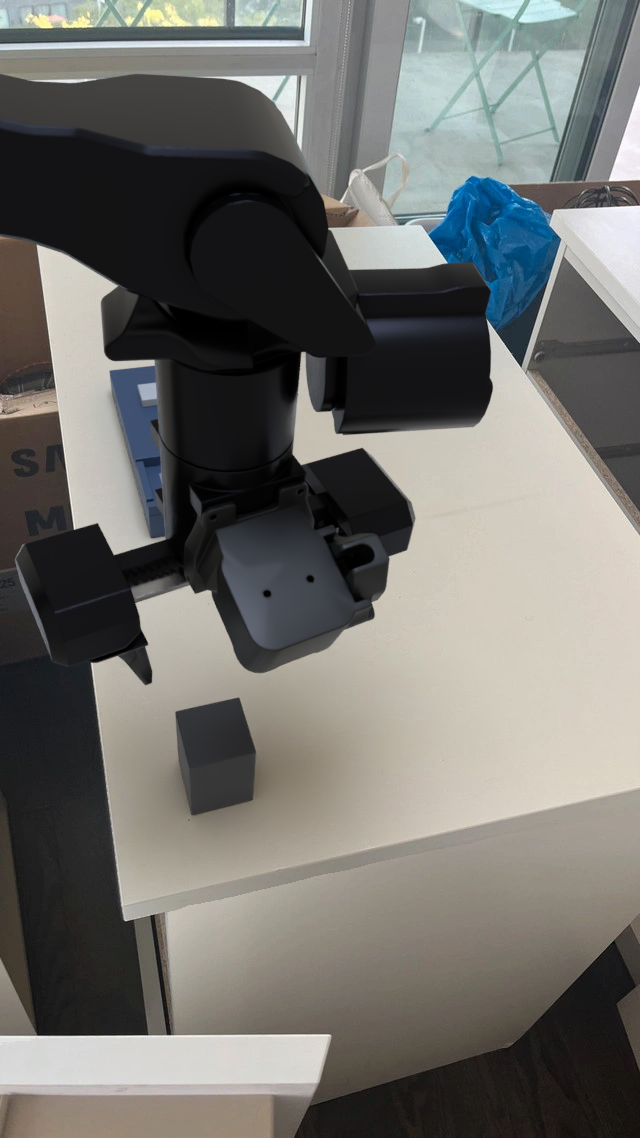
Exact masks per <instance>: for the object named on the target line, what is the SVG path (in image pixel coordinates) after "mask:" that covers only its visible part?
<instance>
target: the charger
mask: <svg viewBox="0 0 640 1138" xmlns="http://www.w3.org/2000/svg"><path fill="white" fill-rule="evenodd" d="M174 714H175V729H176V744H177V760H178V765H179V769H180V774H181V778H182V782H183V785H184V790H185V794H186V799H187V802H188V806H189V811H190V814H191V816H196V815H198V814H202V813H206V812H210V811H215V810H219V809H222V808H226V807H229V806H234V805H237V804H241V803H245V802H250V801H253V800H254V791H255V789H254V788H255V775H256V760H257V759H256V757H257V750H256V747H255V744H254V740H253V737H252V733H251V730H250V728H249V727H250V726H249V724H248V720H247V717H246V714H245V711H244V708H243V703H242V701H241V698H240V697H234V698H229V699H225V700H219V701H216V702H212V703H207V704H202V705H197V706H194V707H189V708H184V709H179V710H176V711H175V713H174Z"/></svg>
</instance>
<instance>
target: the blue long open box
mask: <svg viewBox="0 0 640 1138" xmlns="http://www.w3.org/2000/svg"><path fill="white" fill-rule="evenodd" d="M109 378H110V388H111V389H110V390H111V395H112V399H113V402H114V406H115V410H116V413H117V418H118V421H119V424H120V428H121V432H122V436H123V439H124V444H125V447H126V451H127V455H128V458H129V462H130V465H131V469H132V473H133V476H134V481H135V485H136V489H137V491H138V496H139V500H140V503H141V507H142V511H143V514H144V518H145V521H146V526H147V530H148V533H149V536H150V538H151V539H152V538H159V537H165V525H164V518H163V516H162V515H161V513H160V511H159V509H158V508H157V506H156V499H155V489H159V488H162V476H161V459H160V452H159V450H158V449H157V447H156V445H155V444H154V442H153V440H152V439H151V427H150V421H151V420H155V419H158V410H157V393H156V377H155V365H148V366H138V367H130V368H129V367H128V368H119V369H111V370H109Z"/></svg>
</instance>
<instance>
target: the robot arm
mask: <svg viewBox="0 0 640 1138" xmlns="http://www.w3.org/2000/svg"><path fill="white" fill-rule="evenodd" d="M296 139H297V138H296V137H295V135H294V133H293V131H292V129H291V127H290V125H289V124H288V122H287V120H286V118H285V116H284V115H283V113H282V111H281V110H280V109H279V107H277V105H276V103H275V102H274V101H273V99H271V98H270V97H268V96H267V94H265V93H264V92H262V91H261V90H259V89H258V88H255V87H254V86H251V85H249V84H246V83H244V82H242V81H239V80H235V79H229V78H222V77H221V78H220V77H202V76H201V77H199V76H184V75H167V74H166V75H165V74H147V73H133V74H132V73H131V74H125V75H118V76H112V77H106V78H99V79H92V80H85V81H79V82H58V81H39V80H38V81H37V80H29V79H25V78H21V77H16V76H13V75H12V76H11V75H7V74H3V73H0V237H1V238H5V239H12V240H17V241H23V242H28V243H29V244H30V243H31V244H33V245H36V246H39V247H42V248H45V249H49V250H52V251H55V252H57V253H60V254H63V255H66V256H67V257H69V258H71V259H72V260H74V261H76V262H77V263H79V264H81V265H82V266H84V267H86V268H87V269H89V270H91V271H92V272H94V273H96V274H97V275H99V276H100V277H103V278H104V279H106V280H107V281H108V282H110V283H112V284H114V285H116V287H115V288H114V289H112V290H111V291H109V293H106V294H105V295H104V296H103V297H102V298H101V300H100V314H101V315H100V316H101V329H102V342H103V343H102V345H103V353H104V356H105V357H106V358H107V359H108V360H109V361H112V362H135V361H137V362H138V361H154V366H155V377H156V393H157V410H158V419H155V420H151V421H150V427H151V439H152V440H153V442H154V444H155V445H156V447H157V449H158V450H159V452H160V459H161V476H162V488H159V489H155V499H156V506H157V508H158V509H159V511H160V513H161V515H162V516H163V518H164V525H165V536H164V538H165V539H163V540H159V541H155V542H153V543H150V544H146V545H143V546H139V547H136V548H132V549H130V550H127V551H123V552H119V553H116V554H114V552H113V550H112V548H111V546H110V544H109V542H108V540H107V538H106V536H105V534H104V532H103V531H102V529H101V527H100V524H99V522H96V523H93V524H89V525H86V526H82V527H78V528H75V529H72V530H68V531H65V532H61V533H57V534H54V535H50V536H47V537H43V538H40V539H37V540H34V541H30V542H26V543H22V545H21V546H20V549H19V551H18V552H17V554H16V556H15V557H14V562H15V567H16V571H17V574H18V579H19V583H20V586H21V587H22V590H23V592H24V595H25V597H26V600H27V602H28V605H29V607H30V609H31V613H32V615H33V617H34V619H35V622H36V625H37V627H38V629H39V632H40V634H41V637H42V640H43V642H44V644H45V647H46V649H47V653H48V654H49V656H50V660H51V662H52V663H54V664H57V665H61V666H63V667H67V668H71V667H74V666H77V665H80V664H83V663H86V662H88V663H90V664H91V663H92V664H99V663H101V662H105V661H107V660H109V659H110V660H111V659H114V658H117V657H118V658H120V660H122V661H123V662H124V663H125V664H126V665H127V666H128V668H130V670H131V671H132V672H133V673H134V674H135V676H136V677H137V678H138V679H139V680H140V681H141V682H142V684H143V686H148V685H151V684H153V668H152V665H151V661H150V657H149V654H148V651H147V647H148V646H149V642H148V640H147V637H146V635H145V633H144V631H143V629H142V625H141V616H140V613H139V610H138V607H137V603H139V602H144V601H146V600H149V599H152V598H155V597H158V596H161V595H165V594H168V593H171V592H173V591H177V590H180V589H183V588H185V587H189V586H190V588H191V589H192V591H193V593H194V594H195V595H197V594H200V593H203V592H206V591H209V592H210V593H211V598H212V600H213V603H214V605H215V607H216V610H217V612H218V615H219V617H220V619H221V622H222V624H223V627H224V628H225V631H226V633H227V635H228V637H229V640H230V642H231V645H232V649H233V653H234V654H235V657H236V660H237V661H238V663H239V664H240V665H241V666H242V667H243V669H245V670H246V671H248V672H251V673H252V674H253V673H254V674H265V673H268V672H271V671H273V670H276V669H278V668H279V667H282V666H284V665H286V664H289V663H292V662H295V661H297V660H300V659H302V658H306V657H307V656H311V655H312V654H318V653H320V652H323V651H325V650H327V649H329V648H330V647H331V646H332V645H333V644H334V643H335V642H336V640H337V639H338V638H339V637H340V635H342V633H343V632H344V631H345V630H349V629H351V628H354V627H356V626H359V625H361V624H364V623H366V622H367V623H368V622H370V621H372V620H374V619H375V617H376V615H375V609H374V605H373V603H375V602H377V601H378V600H380V598H381V597H382V596H383V594H384V593H385V591H386V589H387V585H388V576H389V568H390V561H391V560H390V557H392V556H394V555H398V554H401V553H403V552H407V551H408V549H409V545H410V542H411V540H412V535H413V530H414V527H415V523H416V514H415V510H414V506H413V503H412V501H411V500H410V498H408V496H407V495H406V494H405V493H404V492H403V490H402V489H401V488H400V487H399V485H397V483H396V482H395V481H394V479H392V478H391V477H390V475H389V473H387V471H386V470H385V469H384V468H383V467H382V465H380V463H379V462H378V461H377V460H376V458H375V457H374V456H373V455H372V454H370V452H368V451H367V450H366V449H365V448H363V447H360V448H357V449H353V450H349V451H345V452H341V453H338V454H335V455H332V456H328V457H325V458H320V459H317V460H314V461H310V462H306V463H304V464H301V463H300V462H299V461H298V458H296V456H295V455H294V443H295V432H296V431H295V430H296V419H297V410H298V409H297V407H298V398H299V386H300V374H301V362H302V353H305V374H306V375H305V376H306V384H307V391H308V397H309V400H310V403H311V406H312V408H313V410H314V411H315V412H316V413H327V412H330V413H331V415H332V419H333V427H334V432H335V435H343V436H350V435H351V436H353V435H367V434H384V433H399V432H400V433H401V432H417V431H418V432H419V431H432V430H449V429H451V430H452V429H465V428H466V429H467V428H474V427H476V426H477V425H478V424H480V423H481V421H482V420H483V418H484V417H485V415H486V413H487V410H488V408H489V406H490V403H491V399H492V396H493V391H494V384H493V381H492V379H491V370H492V347H491V336H490V334H491V333H490V330H489V324H488V317H487V314H486V313H487V310H488V306H489V301H490V298H491V295H492V289H491V288H490V287H489V285H488V283H487V282H486V280H485V279H484V277H483V276H482V274H481V272H480V271H479V269H478V268H477V266H476V265H475V264H474V262H446V263H440V264H437V265H434V266H429V267H418V268H417V267H415V268H412V267H411V268H372V269H371V268H370V269H369V268H367V269H365V268H364V269H363V268H362V269H349V266H348V264H347V262H346V260H345V258H344V255H343V253H342V251H341V249H340V246H339V245H338V241H337V240H336V237H335V235H334V233H333V231H332V230H331V229H329V227H330V226H329V221H328V216H327V211H326V205H325V200H324V198H323V196H322V193H321V192H320V189H319V187H318V185H317V183H316V181H315V178H314V176H313V174H312V172H311V170H310V167H309V165H308V163H307V161H306V159H305V156H304V154H303V152H302V150H301V148H300V145H299V143H298V141H297V140H296Z"/></svg>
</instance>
